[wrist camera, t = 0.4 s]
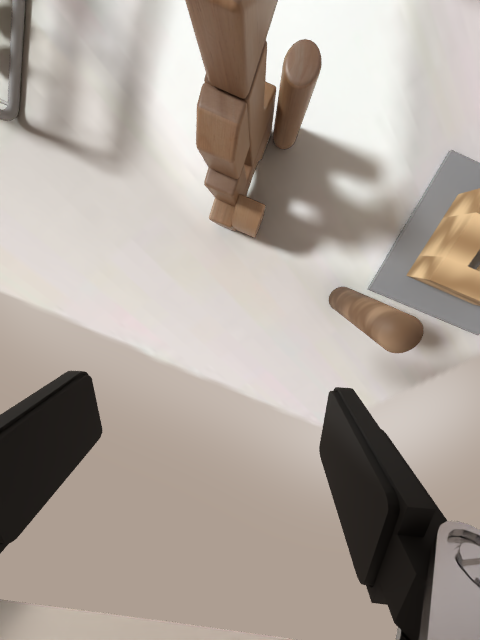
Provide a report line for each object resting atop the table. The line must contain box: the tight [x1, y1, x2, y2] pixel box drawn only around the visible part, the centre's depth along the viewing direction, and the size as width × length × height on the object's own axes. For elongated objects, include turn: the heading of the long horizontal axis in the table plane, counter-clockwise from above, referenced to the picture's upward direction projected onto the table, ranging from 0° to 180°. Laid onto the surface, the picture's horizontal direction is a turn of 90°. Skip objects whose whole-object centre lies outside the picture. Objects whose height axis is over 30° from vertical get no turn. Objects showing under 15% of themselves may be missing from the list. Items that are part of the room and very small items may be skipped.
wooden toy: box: [185, 0, 321, 238], centre depth 20 cm, size 15×7×25 cm, turn 158°
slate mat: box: [368, 150, 480, 335], centre depth 33 cm, size 20×20×1 cm
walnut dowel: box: [329, 287, 423, 353], centre depth 29 cm, size 4×4×16 cm
